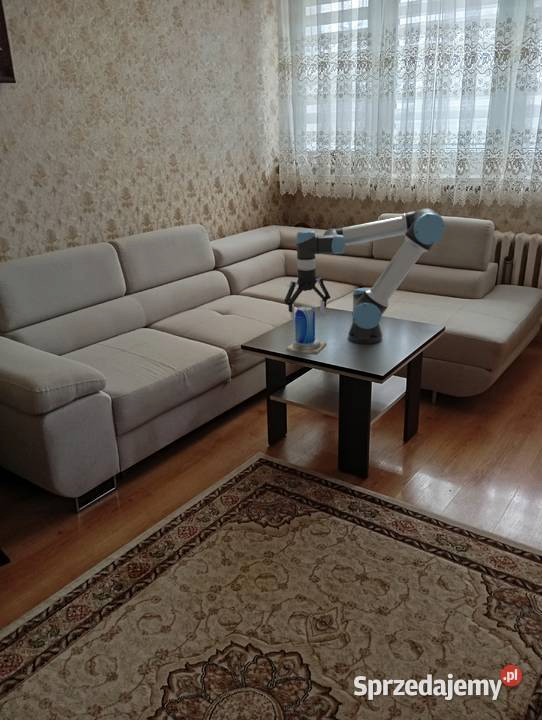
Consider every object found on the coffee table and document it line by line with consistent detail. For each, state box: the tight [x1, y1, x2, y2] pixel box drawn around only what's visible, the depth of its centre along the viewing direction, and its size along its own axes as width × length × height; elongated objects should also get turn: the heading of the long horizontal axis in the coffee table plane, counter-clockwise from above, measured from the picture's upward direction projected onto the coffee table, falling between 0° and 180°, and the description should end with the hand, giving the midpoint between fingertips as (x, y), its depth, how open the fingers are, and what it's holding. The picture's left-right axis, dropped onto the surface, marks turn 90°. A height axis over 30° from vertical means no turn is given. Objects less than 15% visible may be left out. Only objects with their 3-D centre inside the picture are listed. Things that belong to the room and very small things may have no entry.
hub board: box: [286, 338, 327, 355], centre depth 266 cm, size 14×12×2 cm
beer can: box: [294, 305, 316, 346], centre depth 262 cm, size 8×8×16 cm
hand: (307, 317), depth 262 cm, fingers open, 13 cm apart
